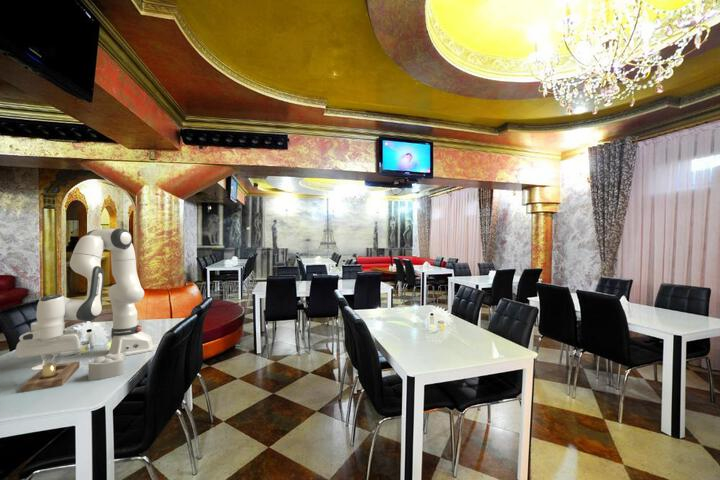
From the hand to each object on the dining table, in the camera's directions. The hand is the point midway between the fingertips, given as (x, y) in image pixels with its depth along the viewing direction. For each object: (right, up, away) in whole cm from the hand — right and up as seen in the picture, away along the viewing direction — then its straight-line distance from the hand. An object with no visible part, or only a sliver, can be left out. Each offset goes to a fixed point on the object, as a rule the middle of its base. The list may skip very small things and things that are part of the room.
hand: (49, 363), depth 130 cm
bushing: (0, -9, 0) cm, 9 cm away
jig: (-2, -9, +4) cm, 10 cm away
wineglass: (-21, -9, +18) cm, 29 cm away
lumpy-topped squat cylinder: (+18, -9, +9) cm, 22 cm away
